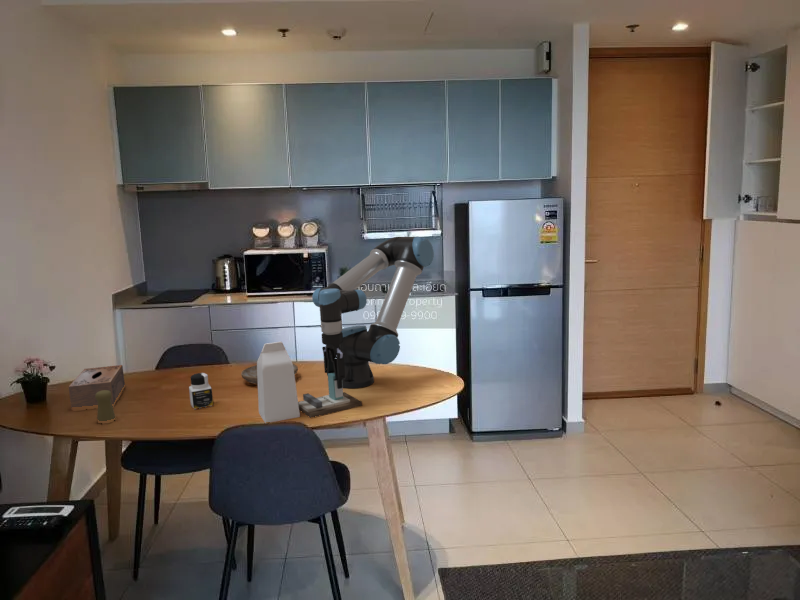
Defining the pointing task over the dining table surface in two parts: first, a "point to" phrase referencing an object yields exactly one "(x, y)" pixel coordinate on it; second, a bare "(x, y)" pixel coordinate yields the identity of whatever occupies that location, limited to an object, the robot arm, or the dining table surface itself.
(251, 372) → the ceramic bowl
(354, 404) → the board
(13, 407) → the dining table surface
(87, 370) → the tissue box cover
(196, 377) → the medicine bottle
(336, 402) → the teal cube on panel
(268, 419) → the milk
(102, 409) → the green pepper shaker
